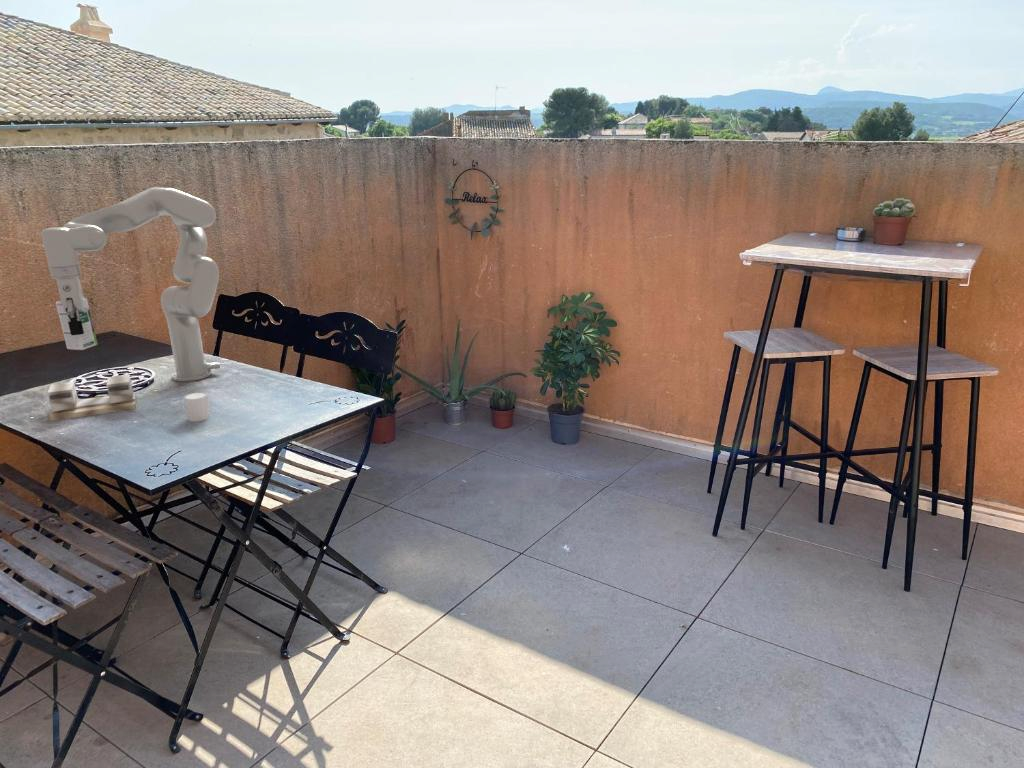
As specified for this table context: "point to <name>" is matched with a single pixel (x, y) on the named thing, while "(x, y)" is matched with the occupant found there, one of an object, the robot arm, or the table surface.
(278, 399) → the table surface
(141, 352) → the table surface
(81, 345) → the syrup box
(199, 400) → the shot glass
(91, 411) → the rail board
